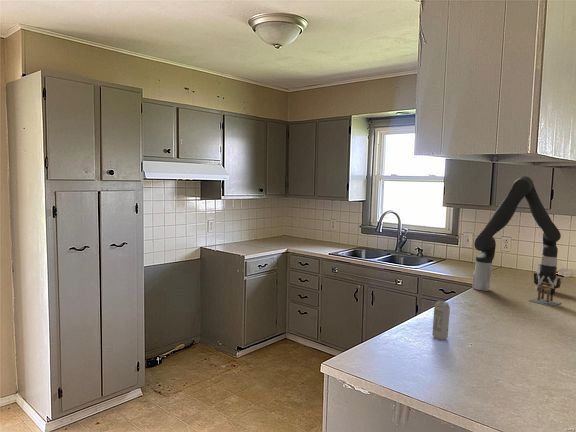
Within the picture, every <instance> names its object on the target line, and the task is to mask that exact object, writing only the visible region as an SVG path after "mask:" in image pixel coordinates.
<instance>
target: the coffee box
mask: <svg viewBox="0 0 576 432" xmlns="http://www.w3.org/2000/svg"><path fill="white" fill-rule="evenodd" d="M540 268H541V264H539V263H538V264H537V268H536V269H537V270H536V273H540ZM557 269H558V267H557V268H556V272H557ZM540 279H541V277H540V276H539V277H538V282H539V281H540ZM554 282H555V283H556V279H555V280H554ZM534 285H535V286H534V290H535V291H537V286H538V285H537V284H535V283H534ZM542 285H547V286H551V285H550V283H548V282H543V283H542ZM550 292H551V290H550ZM541 293H542V289H541ZM545 293H547V290H545Z"/></svg>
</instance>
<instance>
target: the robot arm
mask: <svg viewBox="0 0 576 432" xmlns="http://www.w3.org/2000/svg"><path fill="white" fill-rule="evenodd" d="M506 195H507V196H506V197H505V198H504V200H503V201H501V203H500V204H499V205H498V207H497V208H496V210H495V211H494V213H493V215H492V216H491V218H490V219H489V220H488V222H487V223H486V225H485V227H483V230H481V232H480V233H479V234H478V235H477V236H476V238H475V240H474V244H473V245H474V249H475V250H477V251H479V252H480V253H479V254H478V255H476V257H475V267H474V272H473V274H472V281H471V288H472V289H475V290H477V291H483V292H486V291H487V292H488V291H489V292H490V289H491V279H492V271H493V270H492V269H493V268H492V267H493V260H494V259H495V254H496V248H497V244H496V243H497V242H496V239H495V237H494V235H496V234H497V233H498V232H500V231H501V230H502V229H504V228H505V227H506V226H508V224H509V223H510V221H511V219H512V218H513V216H514V215H515V213H516V211H517V208H518V206H519V204H520V203H521V201H522V200H523V199H524V198H525V200H526V201H527V202H526V203H527V204H528V207H529V209H530V212H531V213H530V214H531V215H532V217H533V219H534V221H535V223H536V225H538V227H539V228H541V230H542V232H543V233H542V244H543V246H542V247H543V248H542V255H541V259H540V260H541V261H540V265H541V268H540V273H537V272H534V273H533V284H534V285H535V284H537V285H538V286H540V285H542V283H543V282H548V283H550V285H551V287H552V289H551V293H550V295H553V296H554V295H555V294H556V289H559V288H560V287H561V284H562V280H563V278H562V277H559V276H557V271H556V268H557V269H558V251H559V249H558V247H557V242H559V241H560V240H561V237H562V236H561V235H562V234H561V231H560V230H559V229H558V227H557V226H556V224H555V223H554V222H553V221H552V219H551V217H550V215H549V213H548V212H547V210H546V209H545V207H544V205H543V203H542V201H541V199H540V197H539V195H538V193H537V190H536V187H535V185H534V181H533V180H532V179H531V177H529V176H526V175H525V176H524V175H522V176H520V177H518V178H517V179H516V180H514V182H513V183H512V185H511V188H510V190H509V191H508V193H507V194H506ZM539 276H540V277H541V279H540V281H539V282H538V277H539ZM555 279H556V280H555ZM554 280H555V282H554ZM538 286H537V290H536V291H537V292H538V289H539V288H538Z"/></svg>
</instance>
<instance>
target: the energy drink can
mask: <svg viewBox="0 0 576 432" xmlns="http://www.w3.org/2000/svg"><path fill="white" fill-rule="evenodd" d="M433 306H434V309H433V319H432V321H433V322H432V332H431V333H432V336H433V338H434V339H435V340H437V341H446V340H447V339H448V337H449V336H448V335H449V324H450V323H449V322H450V312H451V311H450V310H451V308H450V305H449V302H447V301H441V300H440V301H436V302H435V304H434V305H433Z"/></svg>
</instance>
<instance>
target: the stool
mask: <svg viewBox="0 0 576 432" xmlns="http://www.w3.org/2000/svg"><path fill="white" fill-rule="evenodd" d="M538 288H539V289H538V291H537V298H538V299H537V300H540V298H541V299H545V293H547V294H546V299H547V300H546V302H549V300H550V301H554V295H551V293H550V290H551V289H552V287H551V286H547V285H540V286H538ZM541 289H542V292H541ZM545 290H547V292H545Z"/></svg>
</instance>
